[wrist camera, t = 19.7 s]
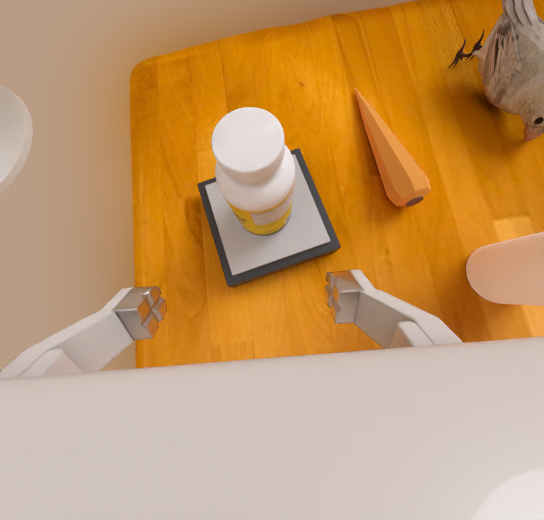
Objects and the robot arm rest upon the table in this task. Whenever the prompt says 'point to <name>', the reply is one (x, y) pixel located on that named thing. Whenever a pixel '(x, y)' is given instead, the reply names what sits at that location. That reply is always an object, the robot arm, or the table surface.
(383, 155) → the carrot
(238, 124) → the pill bottle
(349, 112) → the table surface
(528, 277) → the cylindrical container
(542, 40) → the decorative bird
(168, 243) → the table surface
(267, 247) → the scale
